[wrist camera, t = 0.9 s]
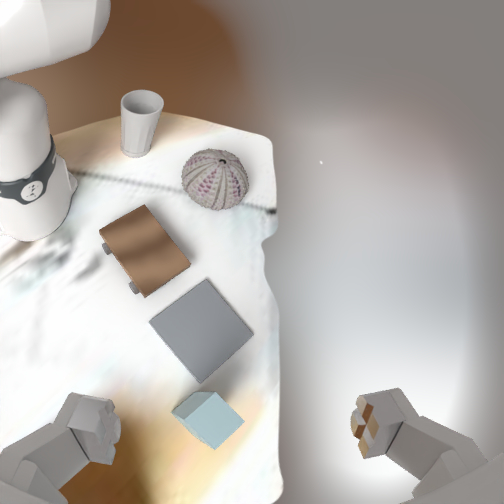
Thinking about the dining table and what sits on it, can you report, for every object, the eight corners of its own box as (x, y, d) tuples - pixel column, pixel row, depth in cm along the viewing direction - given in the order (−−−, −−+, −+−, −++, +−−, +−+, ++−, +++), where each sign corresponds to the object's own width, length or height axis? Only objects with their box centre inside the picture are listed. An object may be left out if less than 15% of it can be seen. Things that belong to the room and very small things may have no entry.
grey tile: (148, 322, 43) (148, 321, 43) (205, 280, 50) (206, 279, 50) (199, 383, 42) (200, 383, 42) (252, 335, 49) (253, 334, 48)
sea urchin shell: (239, 166, 65) (252, 141, 58) (246, 218, 59) (263, 195, 53) (179, 158, 60) (187, 130, 53) (178, 213, 54) (187, 186, 47)
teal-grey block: (170, 412, 39) (184, 419, 29) (194, 391, 41) (215, 391, 32) (193, 435, 38) (214, 449, 28) (217, 415, 41) (244, 421, 31)
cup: (157, 138, 60) (168, 94, 50) (149, 164, 56) (158, 119, 46) (123, 131, 57) (128, 86, 47) (111, 156, 53) (114, 110, 44)
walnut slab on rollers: (97, 240, 46) (96, 231, 43) (145, 213, 51) (146, 203, 49) (141, 303, 44) (142, 297, 42) (189, 269, 50) (193, 262, 47)
